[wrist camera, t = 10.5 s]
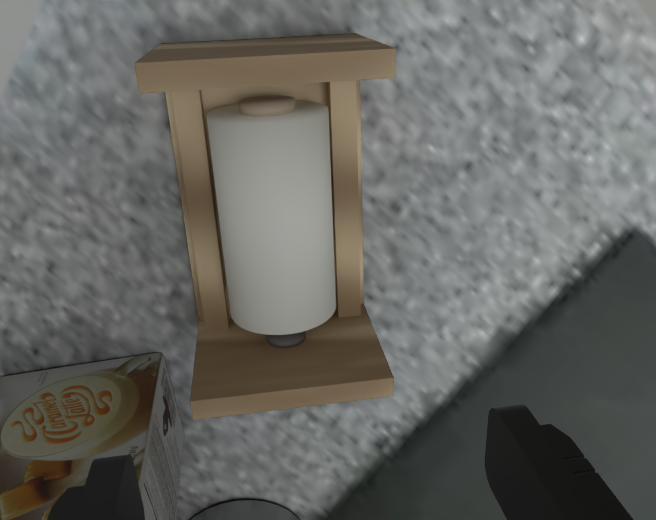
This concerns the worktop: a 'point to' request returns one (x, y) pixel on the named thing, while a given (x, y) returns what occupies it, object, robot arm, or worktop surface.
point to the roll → (275, 212)
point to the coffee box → (88, 433)
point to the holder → (204, 228)
